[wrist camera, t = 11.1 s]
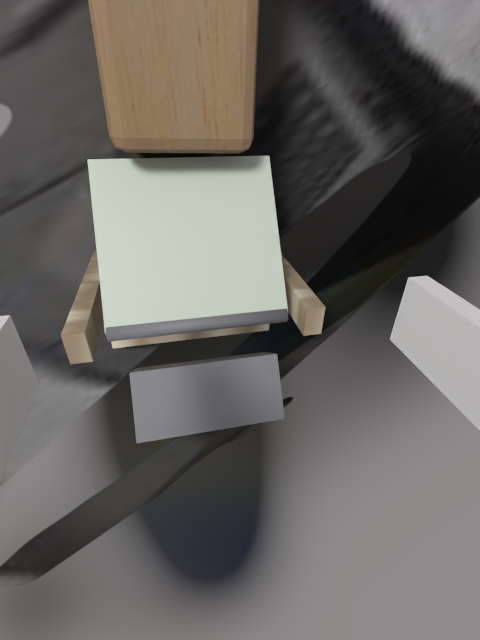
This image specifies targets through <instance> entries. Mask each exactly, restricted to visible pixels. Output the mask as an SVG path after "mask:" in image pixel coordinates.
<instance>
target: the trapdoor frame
mask: <svg viewBox="0 0 480 640" xmlns="http://www.w3.org/2000/svg"><path fill="white" fill-rule="evenodd" d="M281 257H282V265H283V273H284V282H285V290H286V298H287V306H288V312H289V314H290V315H291V317H292V319H293V320H294V322H295V323H296V325H297V326H298V328H299V330H300V331H301V333H302V334H303V336H307V335H315V334H321V331H322V325H323V319H324V313H325V306H324V305H323V304H322V302H321V301H320V300H319V299H318V298H317V296H316V295H315V294H314V293H313V292H312V290H311V289H310V288H309V287H308V285H307V284H306V283H305V282H304V281H303V279H302V278H301V277H300V276H299V275H298V273H297V272H296V271H295V270H294V269H293V267H292V266H291V265H290V264H289V263H288V262H287V260H286V259H285V258H284V257H283V255H282V254H281ZM102 320H103V308H102V298H101V288H100V278H99V269H98V259H97V251H94V252H93V255H92V257H91V260H90V262H89V265H88V267H87V270H86V272H85V275H84V278H83V280H82V283H81V285H80V288H79V290H78V293H77V295H76V298H75V300H74V303H73V306H72V308H71V311H70V313H69V316H68V318H67V321H66V323H65V326H64V328H63V331H62V333H61V338H62V341H63V344H64V346H65V349H66V352H67V355H68V358H69V361H70V364H76V363H84V362H92V361H93V358H94V354H95V350H96V345H97V341H98V337H99V333H100V328H101V324H102ZM267 330H269V324H262V325H253V326H244V327H235V328H226V329H217V330H208V331H199V332H191V333H182V334H173V335H164V336H155V337H146V338H137V339H128V340H119V341H111V342H112V347H113V348H121V347H129V346H138V345H147V344H155V343H164V342H171V341H181V340H190V339H198V338H206V337H215V336H223V335H233V334H241V333H249V332H259V331H267Z"/></svg>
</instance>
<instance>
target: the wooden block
mask: <svg viewBox="0 0 480 640" xmlns="http://www.w3.org/2000/svg"><path fill="white" fill-rule="evenodd" d="M88 3H89V9H90V16H91V22H92V28H93V35H94V41H95V47H96V54H97V60H98V67H99V73H100V79H101V86H102V92H103V99H104V105H105V111H106V118H107V124H108V130H109V136H110V138H111V140H112V142H113V144H114V146H115V148H117V149H119V150H122V151H124V152H126V153H241V152H244V151H246V150H248V149H249V148H250V146H251V143H252V141H253V137H254V114H255V91H256V68H257V46H258V23H259V0H88Z"/></svg>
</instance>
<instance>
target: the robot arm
mask: <svg viewBox="0 0 480 640" xmlns="http://www.w3.org/2000/svg"><path fill="white" fill-rule="evenodd" d="M390 340H391V341H392V342H393V343H394V344H395V345H396V346H397V347H398V348H399V349H400V350H401V351H402V352H403V353H404V354H405V355H406V356H407V357H408V358H409V359H410V360H411V361H412V362H413V363H414V364H415V365H416V366H417V367H418V368H419V369H420V370H421V371H422V372H423V373H424V374H425V375H426V376H427V377H428V379H429V380H430V381H431V382H432V383H433V384H434V385H435V386H436V387H437V388H438V389H439V390H440V391H441V392H442V393H443V394H444V395H445V396H446V397H447V398H448V399H449V400H450V401H451V402H452V403H453V404H454V405H455V406H456V407H457V408H458V409H459V410H460V411H461V412H462V413H463V414H464V415H465V416H466V417H467V418H468V419H469V420H470V421H471V422H472V423H473V424H474V425H475V426H476V427H477V428H478V429H479V430H480V310H479V309H478V308H476V307H475V306H473V305H472V304H470V303H468V302H467V301H465V300H464V299H462V298H461V297H459V296H458V295H456V294H455V293H453V292H451V291H450V290H448V289H447V288H445V287H444V286H442V285H440V284H439V283H437V282H436V281H434V280H433V279H431V278H430V277H428V276H420V277H409V278H408V281H407V284H406V287H405V291H404V294H403V297H402V301H401V304H400V308H399V311H398V314H397V317H396V320H395V324H394V327H393V330H392V334H391V337H390ZM38 387H39V383H38V380H37V378H36V376H35V373H34V371H33V369H32V366H31V364H30V361H29V359H28V357H27V354H26V352H25V350H24V347H23V345H22V342H21V340H20V338H19V335H18V333H17V331H16V328H15V326H14V323H13V321H12V319H11V316H10V315H7V316H0V481H1V479H2V476H3V474H4V471H5V469H6V466H7V464H8V461H9V459H10V456H11V454H12V451H13V449H14V447H15V444H16V442H17V439H18V437H19V434H20V432H21V429H22V427H23V424H24V422H25V419H26V417H27V414H28V412H29V409H30V407H31V404H32V402H33V399H34V397H35V394H36V392H37V389H38Z"/></svg>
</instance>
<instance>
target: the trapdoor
mask: <svg viewBox="0 0 480 640" xmlns="http://www.w3.org/2000/svg"><path fill="white" fill-rule="evenodd" d="M88 169H89V179H90V189H91V199H92V209H93V219H94V229H95V239H96V249H97V259H98V269H99V278H100V288H101V298H102V308H103V318H104V328H105V334H106V337H107V341H108V342H111V341H119V340H128V339H137V338H146V337H155V336H164V335H173V334H182V333H191V332H199V331H208V330H217V329H226V328H235V327H244V326H253V325H262V324H271V323H279V322H287V321H288V306H287V298H286V290H285V282H284V273H283V265H282V257H281V249H280V240H279V232H278V224H277V216H276V207H275V199H274V191H273V183H272V174H271V166H270V158H269V156H228V157H181V158H134V159H88ZM130 382H131V393H132V402H133V412H134V422H135V431H136V441H137V443H142V442H147V441H153V440H160V439H165V438H172V437H178V436H184V435H190V434H196V433H202V432H208V431H214V430H220V429H226V428H232V427H238V426H244V425H250V424H256V423H262V422H268V421H274V420H280V419H285V417H284V408H283V400H282V392H281V385H280V384H281V383H280V375H279V366H278V358H277V354H275V353H268V352H260V353H253V354H245V355H237V356H229V357H221V358H213V359H206V360H198V361H190V362H182V363H175V364H166V365H159V366H151V367H143V368H137V369H135V370H133V371H132V372H130Z"/></svg>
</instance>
